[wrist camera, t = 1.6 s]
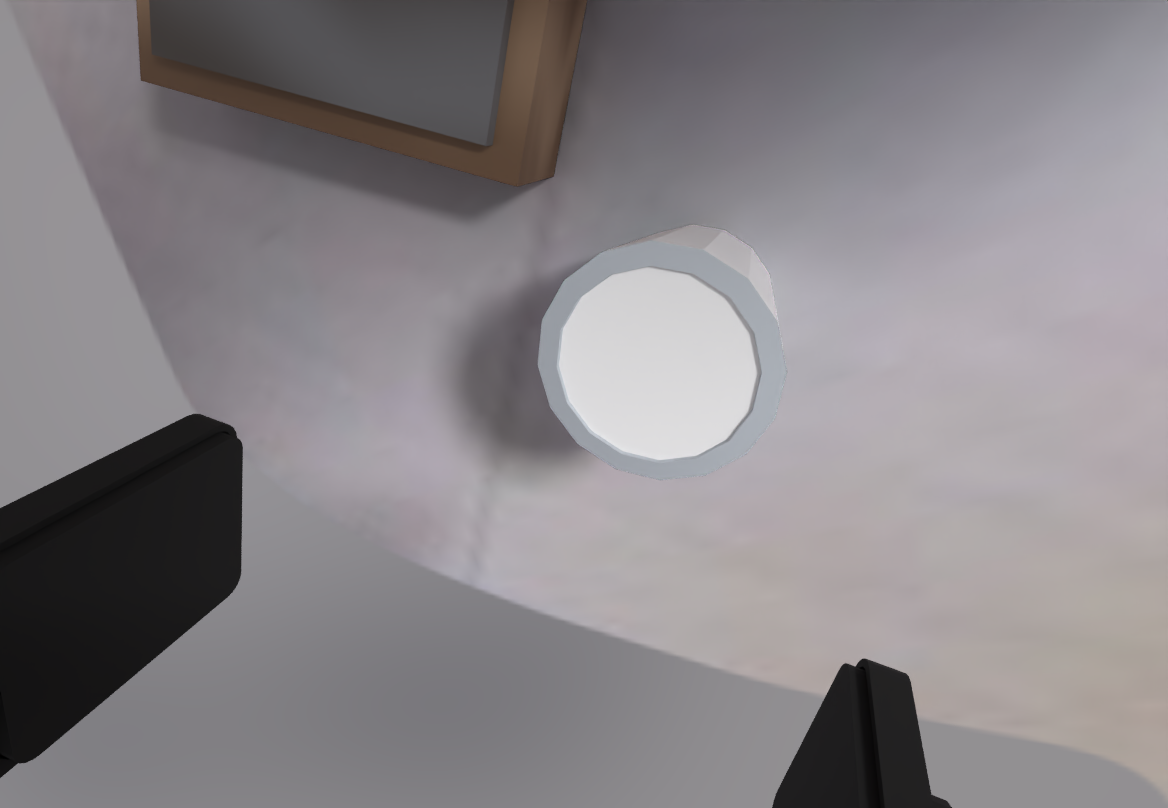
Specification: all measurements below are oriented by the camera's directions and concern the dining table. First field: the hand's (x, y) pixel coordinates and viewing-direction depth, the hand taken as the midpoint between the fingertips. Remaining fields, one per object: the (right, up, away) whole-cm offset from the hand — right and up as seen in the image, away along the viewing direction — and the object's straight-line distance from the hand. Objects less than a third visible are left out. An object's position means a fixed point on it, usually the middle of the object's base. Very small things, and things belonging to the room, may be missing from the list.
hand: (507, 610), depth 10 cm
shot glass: (+5, +7, +15) cm, 17 cm away
